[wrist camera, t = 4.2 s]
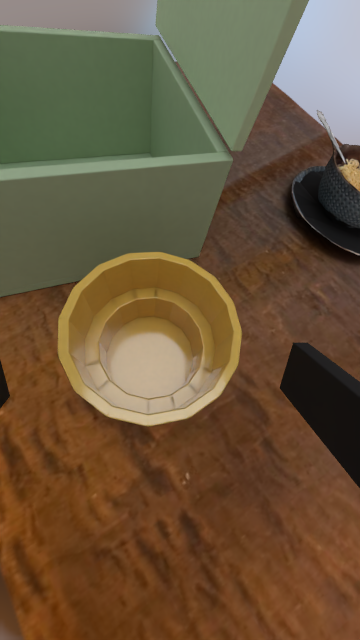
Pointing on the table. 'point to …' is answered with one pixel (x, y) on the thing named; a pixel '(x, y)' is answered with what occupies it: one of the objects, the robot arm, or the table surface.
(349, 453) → the robot arm
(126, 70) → the chest
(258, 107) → the chest lid
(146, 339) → the bowl
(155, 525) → the table surface
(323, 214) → the soup bowl
